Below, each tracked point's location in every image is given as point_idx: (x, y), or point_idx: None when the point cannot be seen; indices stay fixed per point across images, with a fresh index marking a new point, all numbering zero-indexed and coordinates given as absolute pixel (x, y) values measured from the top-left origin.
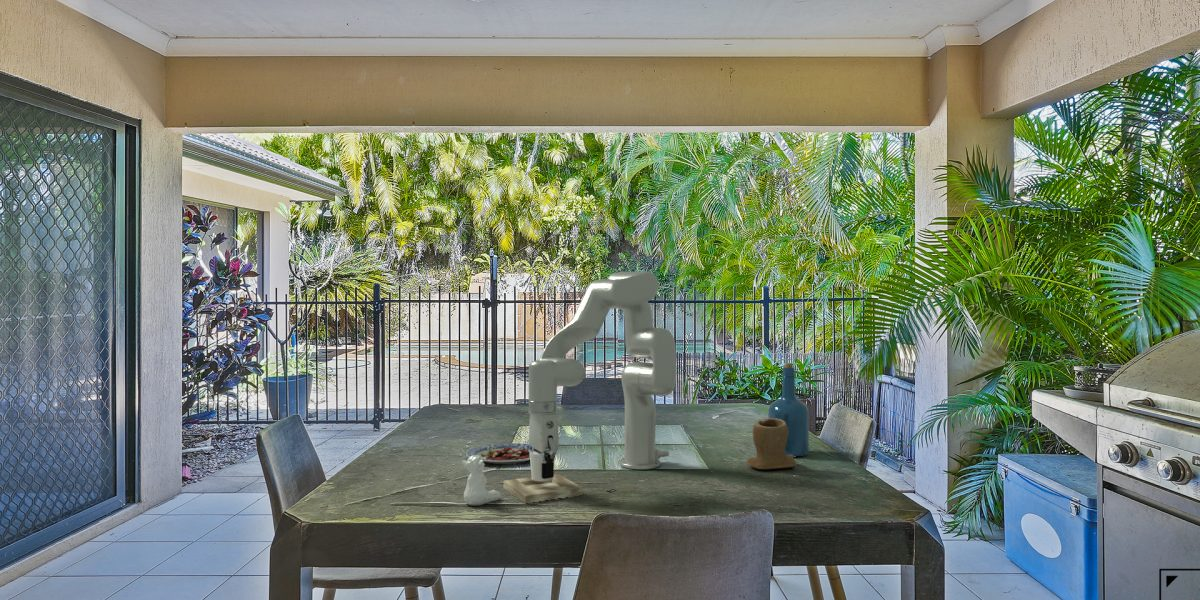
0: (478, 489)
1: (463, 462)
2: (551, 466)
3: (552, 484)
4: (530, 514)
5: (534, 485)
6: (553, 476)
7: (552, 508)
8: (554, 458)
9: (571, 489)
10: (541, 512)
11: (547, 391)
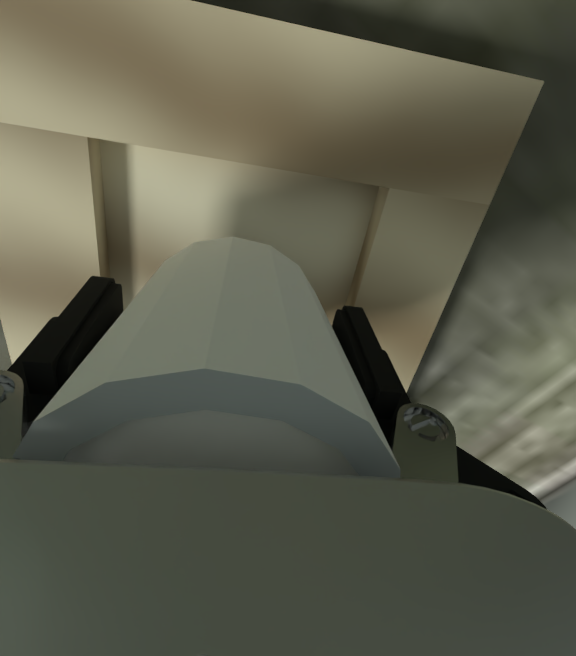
0: None
1: None
2: (406, 401)
3: (189, 174)
4: (489, 456)
5: None
6: (360, 308)
7: (513, 369)
8: (343, 367)
9: (491, 197)
10: (509, 421)
11: None
